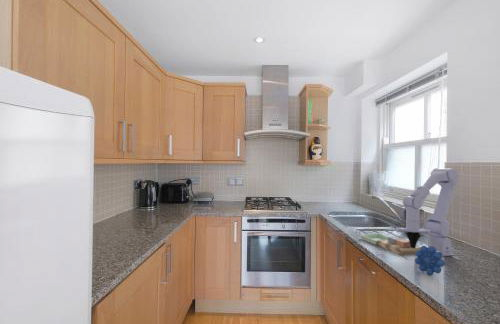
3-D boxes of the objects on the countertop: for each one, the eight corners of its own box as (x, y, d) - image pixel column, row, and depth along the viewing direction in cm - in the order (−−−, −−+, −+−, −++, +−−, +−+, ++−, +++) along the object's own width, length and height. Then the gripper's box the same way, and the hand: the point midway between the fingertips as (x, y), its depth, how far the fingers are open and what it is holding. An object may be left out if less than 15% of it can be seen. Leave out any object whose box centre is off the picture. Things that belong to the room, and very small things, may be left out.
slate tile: (402, 243, 133) (402, 238, 133) (395, 244, 132) (395, 239, 132) (395, 240, 138) (395, 236, 138) (387, 241, 137) (387, 236, 137)
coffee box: (404, 232, 168) (403, 208, 169) (410, 231, 171) (409, 207, 171) (418, 235, 160) (417, 210, 160) (424, 234, 163) (423, 209, 163)
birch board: (420, 253, 127) (420, 247, 127) (401, 255, 124) (401, 249, 124) (395, 243, 142) (395, 238, 142) (377, 245, 139) (377, 240, 139)
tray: (395, 243, 143) (395, 239, 143) (375, 245, 140) (375, 240, 140) (379, 237, 155) (378, 233, 156) (360, 238, 152) (360, 234, 152)
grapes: (451, 279, 98) (451, 248, 98) (440, 281, 95) (440, 250, 95) (422, 267, 108) (422, 240, 109) (411, 270, 106) (411, 241, 106)
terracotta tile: (411, 246, 128) (411, 241, 128) (403, 247, 127) (403, 242, 127) (403, 243, 133) (403, 239, 133) (395, 244, 132) (395, 239, 132)
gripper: (426, 219, 127) (426, 246, 126) (394, 217, 131) (394, 243, 130) (432, 222, 120) (432, 250, 120) (398, 220, 124) (398, 248, 124)
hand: (413, 247), depth 125 cm, fingers closed
